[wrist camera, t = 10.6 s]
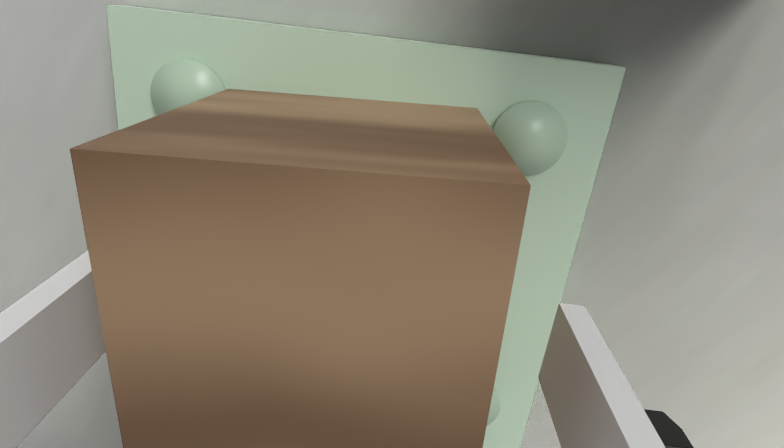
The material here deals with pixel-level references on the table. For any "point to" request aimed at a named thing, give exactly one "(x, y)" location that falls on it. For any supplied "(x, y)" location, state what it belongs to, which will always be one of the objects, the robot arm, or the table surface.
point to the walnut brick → (302, 271)
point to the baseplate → (411, 85)
